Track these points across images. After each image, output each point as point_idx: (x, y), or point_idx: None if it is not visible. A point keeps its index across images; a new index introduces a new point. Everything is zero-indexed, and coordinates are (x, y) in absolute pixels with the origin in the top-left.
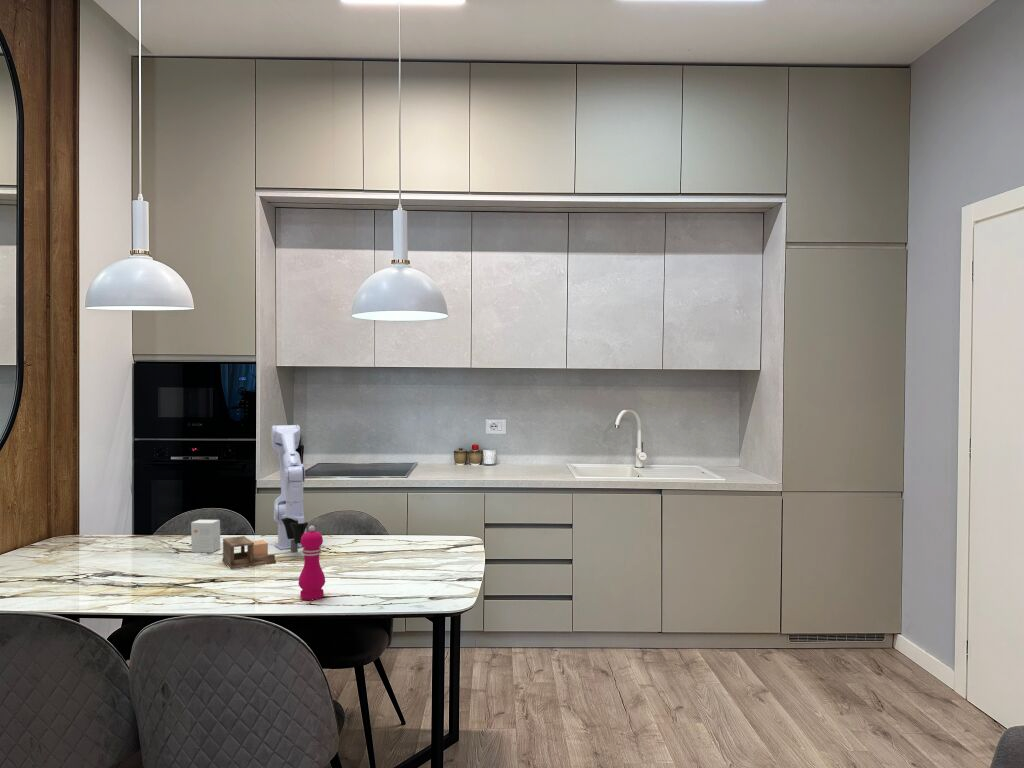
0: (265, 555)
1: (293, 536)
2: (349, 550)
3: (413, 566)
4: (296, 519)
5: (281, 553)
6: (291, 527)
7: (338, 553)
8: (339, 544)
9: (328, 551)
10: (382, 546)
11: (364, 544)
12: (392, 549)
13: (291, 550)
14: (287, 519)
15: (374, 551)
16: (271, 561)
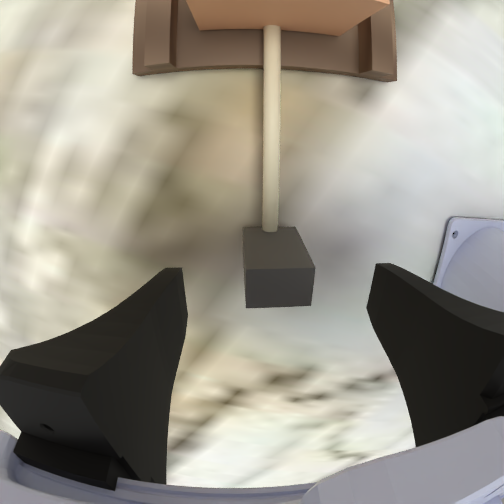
0: (171, 2)
1: (374, 313)
2: (226, 434)
3: (4, 428)
4: (15, 483)
5: (264, 147)
6: (418, 357)
7: (197, 404)
8: (344, 427)
9: (259, 389)
10: (225, 480)
11: (283, 466)
12: (175, 481)
13: (281, 231)
14: (492, 394)
15: (171, 461)
16: (135, 46)
